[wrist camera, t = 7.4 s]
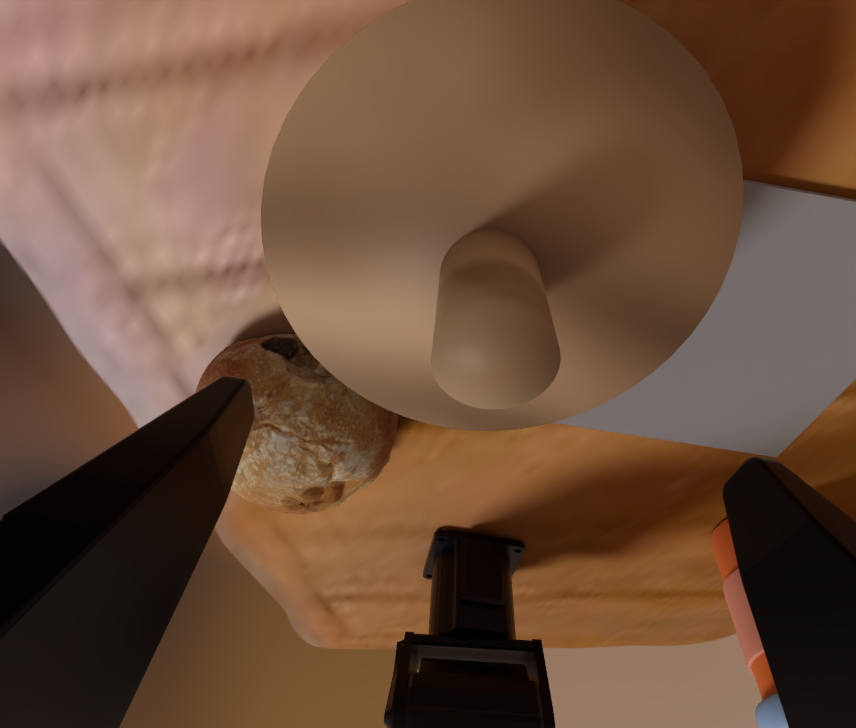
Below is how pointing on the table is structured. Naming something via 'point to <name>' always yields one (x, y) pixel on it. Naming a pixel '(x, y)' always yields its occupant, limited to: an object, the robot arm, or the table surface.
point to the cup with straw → (747, 629)
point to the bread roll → (302, 428)
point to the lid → (502, 208)
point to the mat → (758, 335)
